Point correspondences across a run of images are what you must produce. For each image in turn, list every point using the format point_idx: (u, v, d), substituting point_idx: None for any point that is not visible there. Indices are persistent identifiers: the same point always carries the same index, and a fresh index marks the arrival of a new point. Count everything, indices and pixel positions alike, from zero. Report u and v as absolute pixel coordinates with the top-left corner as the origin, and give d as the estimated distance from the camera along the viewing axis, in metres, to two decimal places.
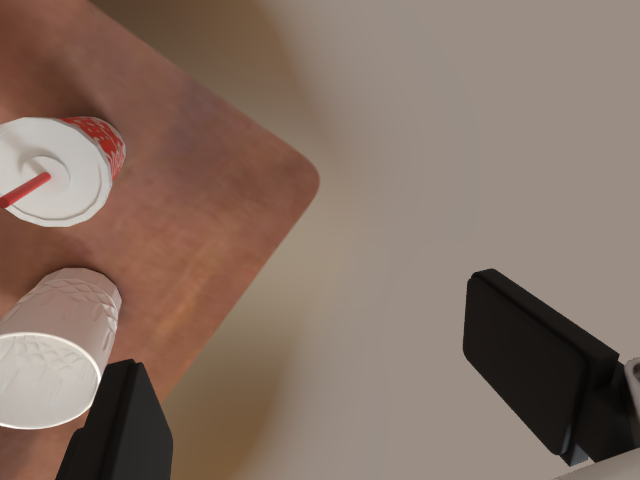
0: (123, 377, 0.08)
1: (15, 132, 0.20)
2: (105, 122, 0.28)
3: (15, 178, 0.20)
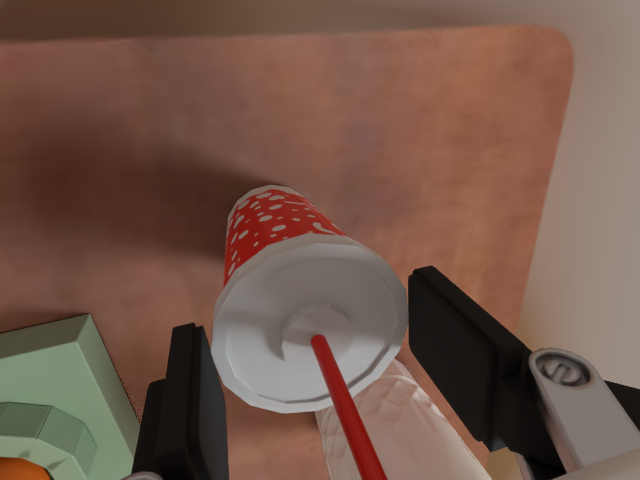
0: (191, 336, 0.09)
1: (238, 312, 0.10)
2: (268, 187, 0.18)
3: (279, 369, 0.12)
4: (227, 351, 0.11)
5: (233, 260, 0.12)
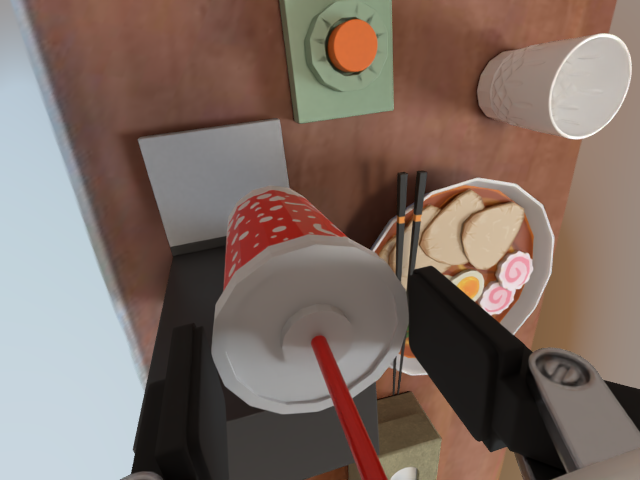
0: (191, 336, 0.09)
1: (239, 313, 0.10)
2: (268, 188, 0.18)
3: (279, 370, 0.12)
4: (228, 352, 0.11)
5: (233, 261, 0.13)
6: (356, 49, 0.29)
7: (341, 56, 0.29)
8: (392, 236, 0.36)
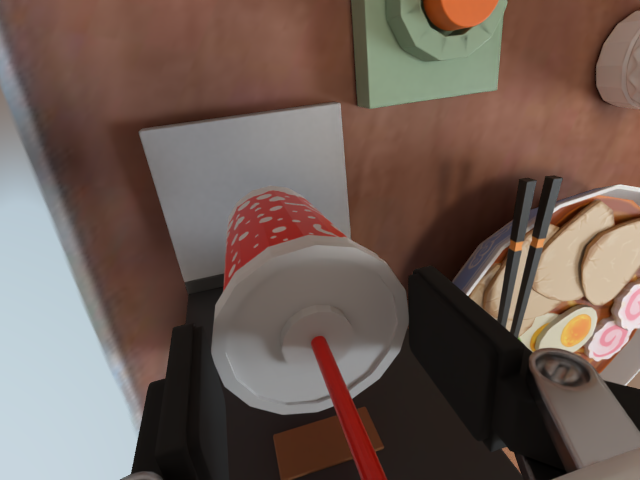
0: (191, 336, 0.09)
1: (239, 314, 0.10)
2: (268, 188, 0.18)
3: (279, 370, 0.12)
4: (227, 353, 0.11)
5: (233, 261, 0.13)
6: None
7: (449, 2, 0.19)
8: (491, 266, 0.26)
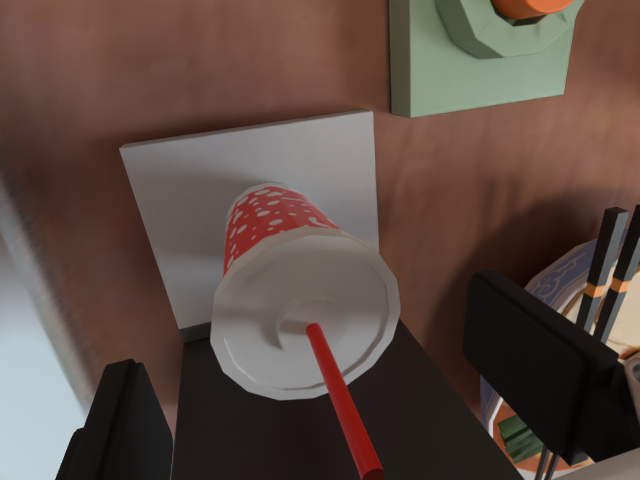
0: (123, 377, 0.08)
1: (237, 301, 0.11)
2: (266, 184, 0.18)
3: (275, 356, 0.12)
4: (226, 339, 0.11)
5: (232, 253, 0.13)
6: None
7: None
8: None
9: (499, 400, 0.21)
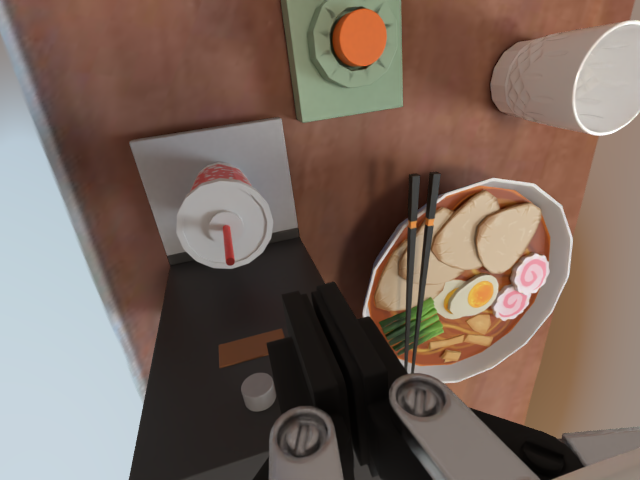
0: (301, 301, 0.10)
1: (188, 212, 0.23)
2: (217, 163, 0.31)
3: (209, 243, 0.24)
4: (184, 231, 0.24)
5: None
6: (364, 41, 0.26)
7: (347, 49, 0.26)
8: (402, 241, 0.34)
9: (367, 297, 0.33)
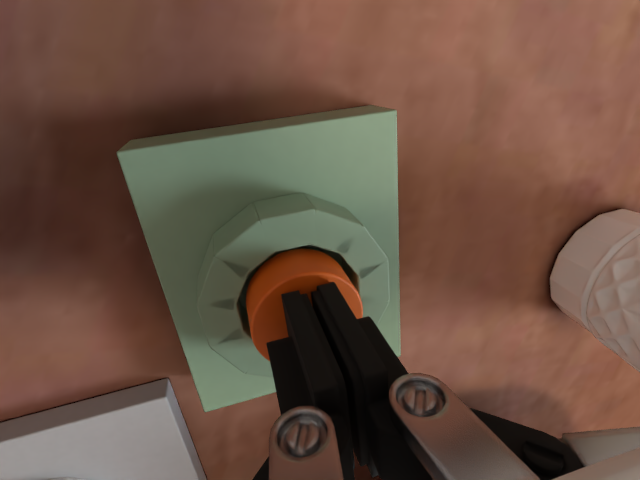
0: (301, 301, 0.10)
1: None
2: None
3: None
4: None
5: None
6: None
7: None
8: None
9: None
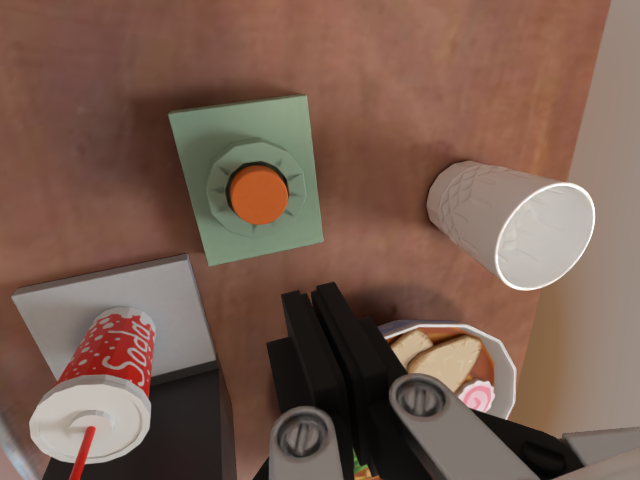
0: (301, 301, 0.10)
1: (43, 418, 0.21)
2: (114, 310, 0.28)
3: (75, 442, 0.22)
4: (41, 436, 0.21)
5: None
6: (261, 202, 0.24)
7: (242, 211, 0.24)
8: None
9: None
